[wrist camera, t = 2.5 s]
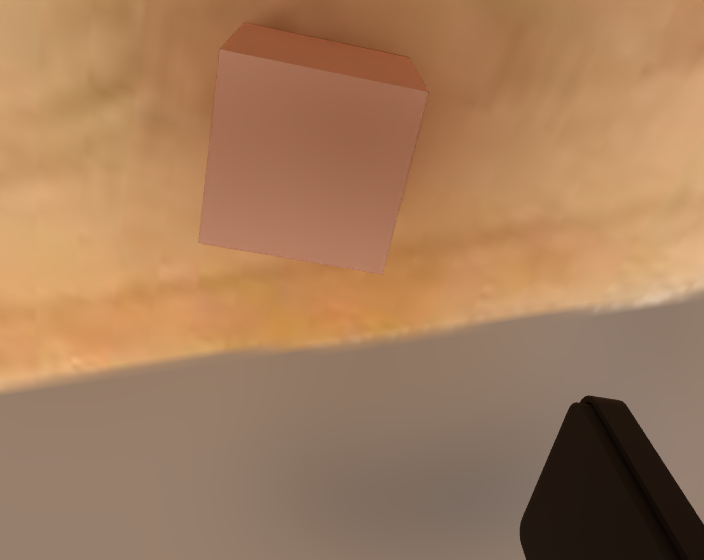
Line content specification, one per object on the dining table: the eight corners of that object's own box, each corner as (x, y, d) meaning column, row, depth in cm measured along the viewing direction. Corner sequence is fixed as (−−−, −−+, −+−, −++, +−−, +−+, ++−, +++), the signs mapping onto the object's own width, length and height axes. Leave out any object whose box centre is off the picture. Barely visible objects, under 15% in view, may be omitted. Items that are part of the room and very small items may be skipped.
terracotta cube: (407, 56, 25) (428, 92, 19) (372, 207, 27) (382, 274, 22) (244, 22, 24) (219, 49, 19) (225, 180, 27) (198, 242, 21)
